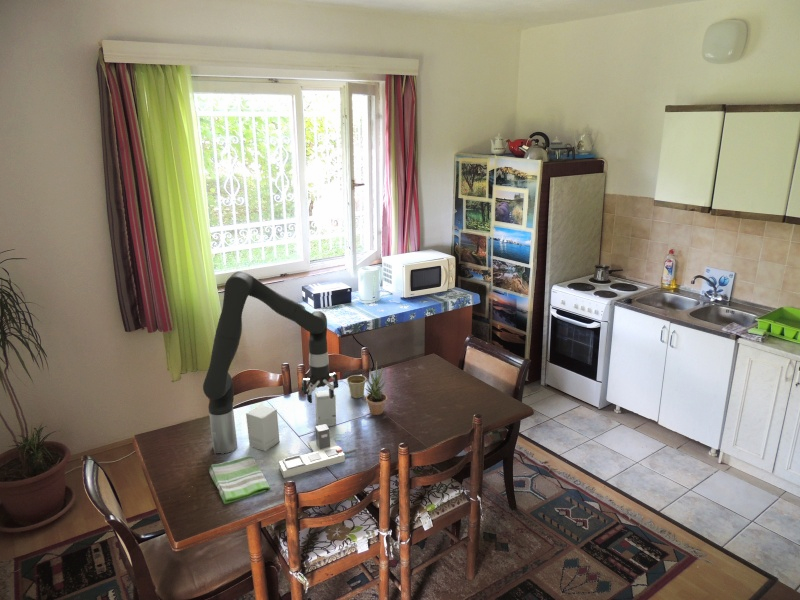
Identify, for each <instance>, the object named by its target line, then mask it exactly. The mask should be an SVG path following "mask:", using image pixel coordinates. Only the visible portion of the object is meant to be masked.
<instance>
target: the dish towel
mask: <svg viewBox="0 0 800 600" xmlns="http://www.w3.org/2000/svg"><path fill="white" fill-rule="evenodd" d="M208 472H209V475H210V477H211V479H212V481H213V483H214V485H215V487H217V490H219V491H218V493H219V496H220V497H221V501H222V502H223V504H224V505H227V504H230V503H233V502H237V501H240V500H242V499H243V500H244V499H245V498H249V497H252V496H255V495H257V494H261V493H263V492H266V491H270V490H271V486H270V485H269V483H268V481H267V479H266V477H265V476H264V474H263V472H262V469H261V468H260V466H259V465H258V463H257V462H256V461H255V458H254V457H253V456H251V455H246V456H245V455H244V456H241V457H239V458H238V457H237V458H235V459H232V460H228V461H224V462H220V463H214V464H213V463H212V464H211V465H210V467H209V469H208Z"/></svg>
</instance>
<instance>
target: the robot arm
mask: <svg viewBox="0 0 800 600" xmlns="http://www.w3.org/2000/svg"><path fill="white" fill-rule="evenodd" d="M248 297H251V298H254V299H257V300H258V301H260V302H262V303H264V304H265V305H266V306H267V307H269V308H270V309H271V310H272V311H274V312H275V313H276V314H277V315H280V316H281V317H283V318H286V319H288V320H290V321H292V322H295V323H296V324H297V325H298V326H299V327H301V328H302V329H304V330H305V331H307V332H309V339H308V352H309V353H308V364H309V365H308V367H309V377H307V378H305V377H302V378H301V392H302V394H303V395H306V400H307V402H308V403H309V404H312V403H313V398H312V397H313V396H312V393H313V391H315V390H316V388H321V387H323V388H324V387H325V386H327V387H328V390H329V397H330V398H331V399H332V398H333V397H334V393H335V391H334V390H335V389H338V388H339V378H338V374H337V373H336V372H335V371H332V373H330V361H329V353H328V339H327V334H328V333H327V332H328V319H327V316H326V314H325V313H324V312H323V311H321V310H315V311H313V312H312V313H311V312H310V311H308V310H307V309H306V306H304V305H303V304H301V303H299V302H298V301H295V300H293V299H291V298H289V297H287V296H285V295H283V294H281V293H280V292H277V291H276V290H274V289H272V288H271V287H269V286H267V285H266V284H264V283H263V282H262V281H260V280H259V279H257V278H255V277H254V276H252V274H250V273H248V272H246V271H235V272H234V273H233V274H231V275H230V277H228V278H227V280H226V281H225V284H224V291H223V301H222V309H221V313H220V315H219V319H218V322H217V326H216V330H215V333H214V334H215V335H214V340H213V344H212V351H211V354H210V361H209V362H210V363H209V366H208V370H207V372H206V375H205V378H204V382H203V385H202V390H203V393H204V395H205V397H207V399H209V403H208V406H207V407H208V414H209V423H210V429H209V430H210V434H211V436H210V437H211V443H212V449H213V451H214V454H215V453H221V454H220V455H224V453H226V454H229V452H230V453H232V452H234V451H235V450H237V448H238V439H237V431H236V430H237V429H236V422H235V411H234V399H235V397H234V382H233V380H232V379H233V378H232V376H231V374H230V373H229V370H230V367H231V364H232V362H233V360H234V358H235V356H236V354H237V351H238V348H239V345H240V341H241V337H242V332H243V331H242V330H243V320H242V319H243V318H242V317H243V310H244V308H245V304H246V301H247V298H248ZM330 379H332V382H333V384H331V383H330V382H329V381H330ZM309 382H310V383H309ZM308 384H309V385H308ZM307 386H308V387H307Z"/></svg>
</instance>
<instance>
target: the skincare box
mask: <svg viewBox="0 0 800 600" xmlns="http://www.w3.org/2000/svg"><path fill="white" fill-rule="evenodd" d="M314 398H315V399H314V400H315V401H314V402H315V422H316V426H319V425H323V424H326V425H327V426H328V427H335V426H337V410H336V409H337V408H336V406H337V403H336V402H337V401H336V393H335V392H334V397H333V398H332V399H331V398H330V397H329V389H326V390H320V391H319V390H318V391H315V392H314Z"/></svg>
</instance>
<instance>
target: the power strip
mask: <svg viewBox="0 0 800 600" xmlns="http://www.w3.org/2000/svg"><path fill="white" fill-rule="evenodd" d="M355 452H357V449H356V448H355V449H351V450H347V451H344V452H343V449H342V447H340V446H339V445H338V446H336V447H332V448H328V449H324V450H320V451H317V452H313V451H312V452H309V453H307V454H296V455H293V456H289V457H285V458H282V460H278V467H279V470H280V473H281V474H282V477H283V479H286V478H289V477H293V476H296V475H300V474H304V473H307V472H311V471H315V470H318V469H322V468H325V467H329V466H332V465H336V464H339V463H340V464H341V463H343V462H345V461H346V457H345V455H348V454H352V453H355Z"/></svg>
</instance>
